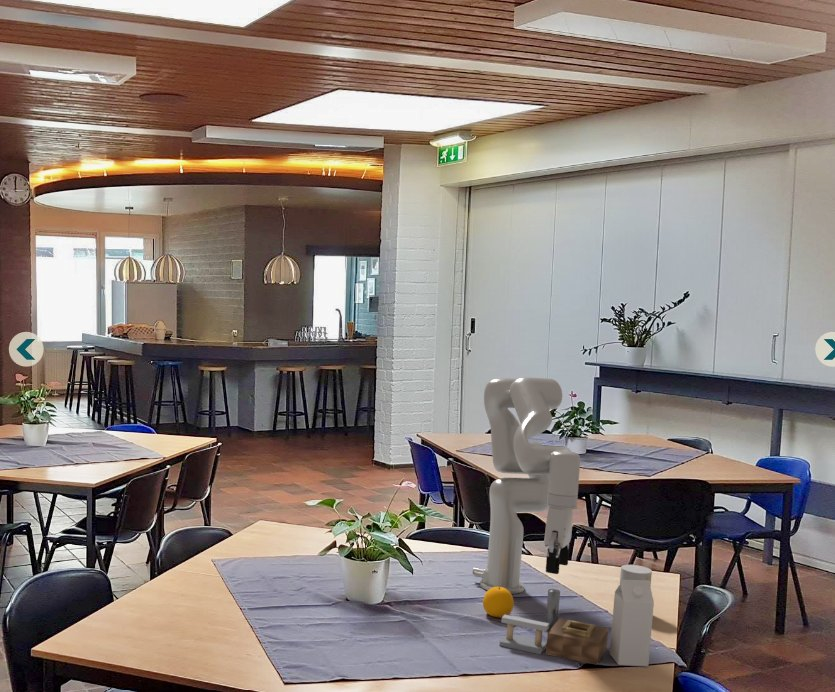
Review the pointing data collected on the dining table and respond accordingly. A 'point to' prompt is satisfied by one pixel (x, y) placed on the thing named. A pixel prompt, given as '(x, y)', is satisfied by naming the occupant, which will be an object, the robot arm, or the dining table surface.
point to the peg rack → (521, 642)
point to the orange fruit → (498, 602)
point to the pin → (552, 607)
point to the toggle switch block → (577, 641)
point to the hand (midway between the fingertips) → (556, 568)
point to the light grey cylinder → (635, 573)
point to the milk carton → (632, 623)
